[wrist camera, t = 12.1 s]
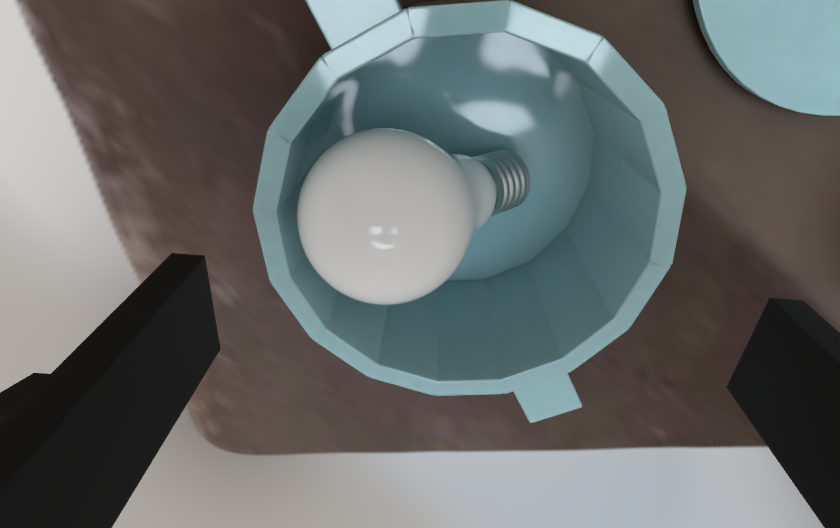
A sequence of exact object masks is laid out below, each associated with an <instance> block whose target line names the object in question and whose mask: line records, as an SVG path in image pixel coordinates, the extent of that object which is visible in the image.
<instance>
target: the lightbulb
mask: <svg viewBox="0 0 840 528" xmlns="http://www.w3.org/2000/svg"><path fill="white" fill-rule="evenodd" d="M529 189H530V175H529V171H528V168H527V166H526V164H525V163H524V161H523V160H522V159H521V158H520V156H518V155H517V154H516V153H514V152H512V151H509V150H498V151H495V152H491V153H487V154H484V155H479V156H475V157H470V156H467V155H462V154H449V153H448V152H447V151H445V150H444V149H443V148H441V147H440V146H439V145H437V144H436V143H434V142H432V141H431V140H429V139H427V138H425V137H423V136H421V135H418V134H416V133H413V132H410V131H406V130H402V129H395V128H374V129H367V130H363V131H359V132H356V133H354V134H351V135H349V136H347V137H345V138H343V139H341V140H339V141H338V142H336V143H335V144H333V145H332V146H330V147H329V148H328V149H327V150H326V151H325V152H323V153H322V154H321V156H320V157H319V158H318V159H317V160H316V161H315V163H314V164H313V165H312V167H311V168H310V170H309V172H308V173H307V175H306V177H305V179H304V182H303V184H302V187H301V190H300V194H299V198H298V204H297V228H298V233H299V238H300V241H301V245H302V247H303V250H304V252H305V254H306V256H307V258H308V260H309V262H310V263H311V265H312V267H313V268H314V269H315V271H316V272H317V273H318V274H319V275H320V277H321V278H322V279H323V280H324V281H325V282H327V283H328V284H329V285H330V286H331V287H333V288H334V289H335V290H337V291H339V292H340V293H342V294H344V295H346V296H348V297H350V298H352V299H355V300H358V301H361V302H365V303H369V304H376V305H395V304H401V303H406V302H410V301H413V300H416V299H419V298H421V297H423V296H425V295H427V294H429V293H431V292H432V291H434V290H435V289H437V288H438V287H440V286H441V285H442V284H443V283H444V282H446V281H447V280H448V279H449V278H450V277H451V275H452V274H453V273H454V272H455V271H456V269H457V268H458V266H459V265H460V263H461V262H462V260H463V258H464V256H465V254H466V252H467V250H468V248H469V245H470V242H471V240H472V236H473V233H474V232H475V231H477V230H478V229H479V228H481V227H482V226H483V225H484V224H485V223H486V222H487V221H488V219H489V218H490V217H491V216H494V215H496V214H499V213H502V212H504V211H507V210H509V209H512V208H514V207H517V206H519V205H520V204H522V203H523V202H524V200H525V199H526V197H527V195H528V193H529Z"/></svg>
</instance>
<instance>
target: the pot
mask: <svg viewBox="0 0 840 528" xmlns="http://www.w3.org/2000/svg"><path fill="white" fill-rule="evenodd" d="M305 1H306V3H307V5H308V7H309V9H310V11H311V13H312V14H313V16H314V18H315V20H316V22H317V24H318V26H319V28H320V29H321V31H322V33H323V35H324V37H325V39H326V41H327V43H328V45H329V46H330V48H331V50H330V51H328V52H326V53H324V54H323V55H322V57H320V58H318V60H317V61H316V63H315V64H314V65H313V67H312V68H311V70H310V71H309V72H308V74H307V75H306V77H305V78H304V79H303V81H302V82H301V83H300V85H299V86H298V88H297V89H296V90H295V92H294V93H293V95H292V96H291V97H290V99H289V100H288V102H287V103H286V104H285V106H284V107H283V108H282V110H281V111H280V113H279V114H278V115H277V117H276V118H275V120H274V121H273V122H272V124H271V125H270V126H269V130H268V131H267V134H266V140H265V145H264V150H263V156H262V161H261V166H260V171H259V177H258V182H257V187H256V193H255V198H254V203H253V214H254V218H255V222H256V226H257V231H258V235H259V239H260V243H261V247H262V251H263V255H264V259H265V264H266V268H267V272H268V276H269V280H270V281H271V284H272V285H273V287H274V288H275V290H276V291H277V292H278V294H279V295H280V296H281V298H282V299H283V301H284V302H285V303H286V305H287V306H288V308H289V309H290V310H291V312H292V313H293V314H294V316H295V317H296V319H297V320H298V321H299V323H300V324H301V325H302V327H303V328H304V330H305V331H306V332H307V334H308V335H309V336H310V338H312V339H313V340H314V341H315V342H317V343H318V344H320V345H321V346H323V347H324V348H326V349H327V350H329V351H330V352H332V353H333V354H335V355H336V356H338V357H339V358H340V359H342V360H343V361H345V362H346V363H348V364H349V365H351V366H352V367H354V368H355V369H357V370H358V371H360V372H361V373H363V374H364V375H366V376H367V377H370V378H373V379H376V380H380V381H383V382H387V383H391V384H394V385H398V386H401V387H405V388H408V389H412V390H415V391H419V392H423V393H426V394H430V395H436V396H445V395H484V394H503V393H504V394H506V393H509V392H512V391H513V392H514V394H515V396H516V398H517V400H518V402H519V404H520V405H521V407H522V409H523V411H524V413H525V415H526V417H527V419H528V420H529V422H530V423H534V422H537V421H540V420H543V419H546V418H549V417H553V416H556V415H559V414H562V413H565V412H568V411H572V410H575V409H578V408H581V407H582V403H581V400H580V397H579V394H578V391H577V389H576V387H575V385H574V382H573V380H572V378H571V376H570V374H569V372H571V371H573V370H574V369H576V368H577V367H578V366H580V365H581V364H582V363H584V362H585V361H586V360H588V359H589V358H591V357H592V356H593V355H595V354H596V353H597V352H599V351H600V350H601V349H603V348H604V347H605V346H607V345H608V344H609V343H611V342H612V341H613V340H615V339H616V338H618V337H619V336H620V335H622V334H623V333H624V332H626V331H627V330H628V329H629V327H631V326H632V324H633V323H634V321H635V320H636V318H637V317H638V315H639V314H640V312H641V310H642V309H643V307H644V306H645V304H646V303H647V301H648V300H649V298H650V297H651V295H652V294H653V292H654V291H655V289H656V288H657V286H658V285H659V283H660V282H661V280H662V279H663V277H664V276H665V274H666V273H667V271H668V270H669V268H670V266H671V265H672V263H673V257H674V252H675V247H676V242H677V237H678V231H679V226H680V221H681V216H682V211H683V205H684V200H685V195H686V190H687V188H686V182H685V179H684V175H683V171H682V167H681V163H680V160H679V156H678V152H677V148H676V144H675V141H674V137H673V133H672V129H671V125H670V122H669V118H668V114H667V110H666V107H665V106H664V103H663V102H662V101H661V100H660V98H659V97H658V96H657V95H656V94H655V93H654V92H653V91H652V90H651V88H650V87H649V86H648V85H647V84H646V83H645V82H644V81H643V80H642V78H641V77H640V76H639V75H638V74H637V73H636V72H635V71H634V69H633V68H632V67H631V66H630V65H629V64H628V63H627V62H626V61H625V59H624V58H623V57H622V56H621V55H620V54H619V53H618V52H617V51H616V49H615V48H614V47H613V46H612V45H611V44H610V43H609V42H608V40H607V39H606V38H605V37H602V35H600V34H597V33H595V32H592V31H589V30H587V29H584V28H582V27H579V26H577V25H574V24H571V23H569V22H566V21H564V20H561V19H559V18H556V17H554V16H551V15H548V14H546V13H543V12H541V11H538V10H536V9H533V8H531V7H528V6H525V5H523V4H520V3H518V2H515V1H513V0H444V1H431V2H419V3H416V4H414V5H412V6H409V7H407V8H405V9H403V7H402V4H401V2H400V0H305ZM374 128H395V129H402V130H406V131H410V132H413V133H416V134H418V135H421V136H423V137H425V138H427V139H429V140H431V141H432V142H434V143H436V144H437V145H439V146H440V147H441V148H443V149H444V150H445V151H447V152H448V153H449V154H462V155H467V156H470V157H475V156H479V155H484V154H487V153H491V152H495V151H498V150H509V151H512V152H514V153H516V154H517V155H518V156H520V158H521V159H522V160H523V161H524V163H525V164H526V166H527V168H528V171H529V175H530V189H529V193H528V195H527V197H526V199H525V200H524V202H523V203H522V204H520V205H519V206H517V207H514V208H512V209H509V210H507V211H504V212H502V213H499V214H496V215H494V216H491V217H490V218H489V219H488V221H487V222H486V223H485V224H484V225H483V226H482V227H481V228H479V229H478V230H477V231H475V232H474V233H473V236H472V240H471V242H470V245H469V248H468V250H467V252H466V254H465V256H464V258H463V260H462V262H461V263H460V265H459V266H458V268H457V269H456V271H455V272H454V273H453V274H452V275H451V277H450V278H449V279H448V280H447V281H446V282H444V283H443V284H442V285H441V286H440V287H438V288H437V289H435V290H434V291H432V292H431V293H429V294H427V295H425V296H423V297H421V298H419V299H416V300H413V301H410V302H406V303H401V304H395V305H376V304H369V303H365V302H361V301H358V300H355V299H352V298H350V297H348V296H346V295H344V294H342V293H340V292H339V291H337V290H335V289H334V288H333V287H331V286H330V285H329V284H328V283H327V282H325V281H324V280H323V279H322V278H321V277H320V275H319V274H318V273H317V272H316V271H315V269H314V268H313V267H312V265H311V263H310V262H309V260H308V258H307V256H306V254H305V252H304V250H303V247H302V245H301V241H300V238H299V233H298V228H297V204H298V198H299V194H300V190H301V187H302V184H303V182H304V179H305V177H306V175H307V173H308V172H309V170H310V168H311V167H312V165H313V164H314V163H315V161H316V160H317V159H318V158H319V157H320V156H321V154H322V153H323V152H325V151H326V150H327V149H328V148H329V147H330V146H332V145H333V144H335V143H336V142H338V141H339V140H341V139H343V138H345V137H347V136H349V135H351V134H354V133H356V132H359V131H363V130H367V129H374Z"/></svg>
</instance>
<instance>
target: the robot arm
mask: <svg viewBox="0 0 840 528" xmlns="http://www.w3.org/2000/svg"><path fill="white" fill-rule="evenodd" d="M219 350H220V344H219V338H218V332H217V326H216V320H215V314H214V308H213V302H212V296H211V291H210V285H209V279H208V273H207V267H206V261H205V256H202V255H188V254H175V253H172V254H171V255H170V256H169V257H168V258H167V259H166V260H165V261H164V262H163V263H162V264H161V265H160V266H159V267H158V268H157V269H156V270H155V271H154V272H153V273H152V274H151V275H150V276H149V277H148V278H147V279H146V280H145V281H144V282H143V283H142V284H141V285H140V286H139V287H138V288H137V289H136V290H135V291H134V292H133V293H132V294H131V295H130V296H129V297H128V298H127V299H126V300H125V301H124V302H123V303H122V304H121V305H120V306H119V307H118V308H117V309H115V310H114V311H113V312H112V313H111V314H110V316H108V317H107V319H106V320H104V322H103V323H101V325H99V326H98V327H97V328H96V329H95V330H94V332H93V333H91V335H90V336H88V338H86V339H85V340H84V341H83V342H82V343H81V344H80V345H79V346H78V347H77V348H76V350H75V351H73V352H72V353H71V355H69V356H68V357H67V359H66V360H64V361H63V362H62V363H61V365H59V366H58V368H56V369H55V370H54V371H53V372H52V373H51V374H41V373H33V374H31V375H30V376H28V377H26V378H25V379H23V380H21V381H19V382H18V383H16V384H14V385H13V386H11V387H9V388H8V389H6V390H4V391H2V392H1V393H0V528H112V526H113V524H114V523H115V521H116V520H117V518H118V516H119V515H120V513H121V511H122V510H123V508H124V506H125V505H126V503H127V502H128V500H129V498H130V497H131V495H132V493H133V492H134V490H135V488H136V487H137V485H138V483H139V482H140V480H141V479H142V477H143V475H144V474H145V472H146V470H147V469H148V467H149V465H150V464H151V462H152V460H153V459H154V457H155V456H156V454H157V452H158V451H159V449H160V447H161V446H162V444H163V442H164V441H165V439H166V437H167V436H168V434H169V433H170V431H171V429H172V427H173V426H174V424H175V423H176V421H177V419H178V418H179V416H180V414H181V413H182V411H183V410H184V408H185V406H186V405H187V403H188V401H189V400H190V398H191V396H192V395H193V393H194V391H195V390H196V388H197V387H198V385H199V383H200V382H201V380H202V378H203V377H204V375H205V373H206V372H207V370H208V368H209V367H210V365H211V364H212V362H213V360H214V359H215V357H216V355H217V354H218V352H219ZM727 389H728V390H729V392H730V393H731V394H732V396H733V397H734V399H735V400H736V402H737V403H738V404H739V406H740V407H741V409H742V410H743V412H744V413H745V414H746V416H747V417H748V419H749V420H750V422H751V423H752V424H753V426H754V427H755V429H756V430H757V432H758V433H759V434H760V436H761V437H762V439H763V440H764V442H765V443H766V444H767V446H768V447H769V449H770V450H771V452H772V453H773V454H774V456H775V457H776V459H777V460H778V462H779V463H780V464H781V466H782V467H783V468H784V470H785V472H786V473H787V474H788V476H789V477H790V479H791V480H792V482H793V483H794V484H795V486H796V487H797V489H798V490H799V492H800V493H801V494H802V496H803V497H804V499H805V500H806V502H807V503H808V505H809V506H810V507H811V509H812V510H813V512H814V513H815V514H816V516H817V517H818V519H819V520H820V522H821V523H822V524H823V526H824V527H825V528H840V333H839V332H838V331H837V330H836V329H835V328H833V327H832V326H831V325H830V324H829V323H828V322H827V321H825V320H824V319H823V318H822V317H821V316H820V315H819V314H818V313H816V312H815V311H814V310H813V309H812V308H811V307H810V306H809V305H807V304H806V303H805V302H804V301H803V300H790V299H776V298H769V301H768V303H767V305H766V307H765V309H764V311H763V313H762V315H761V317H760V319H759V321H758V323H757V325H756V328H755V330H754V332H753V334H752V336H751V338H750V340H749V342H748V344H747V346H746V348H745V350H744V352H743V354H742V357H741V359H740V361H739V363H738V365H737V367H736V369H735V371H734V373H733V375H732V377H731V379H730V381H729V383H728V386H727Z"/></svg>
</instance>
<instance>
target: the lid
mask: <svg viewBox="0 0 840 528" xmlns="http://www.w3.org/2000/svg"><path fill="white" fill-rule="evenodd" d="M693 5H694V9H695V12H696V16H697V19H698V23H699V26H700V29H701V32H702V34H703V36H704V38H705V40H706V42H707V44H708V47H709V49H710V51H711V52H712V54H713V55H714V56H715V58H716V59H717V61H718V62H719V64H720V65H721V67H722V68H723V69H724V70H725V71H726V72H727V73H728V74H729V75H730V76H731V77H732V78H733V79H734V80H735V81H736V82H737V83H738V84H739V85H741V86H742V87H743V88H745V89H746V90H748V91H749V92H750V93H752V94H753V95H755V96H757V97H759V98H761V99H763V100H765V101H767V102H769V103H771V104H774V105H777V106H780V107H783V108H786V109H790V110H793V111H796V112H800V113H807V114H814V115H821V116H840V0H693Z"/></svg>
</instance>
